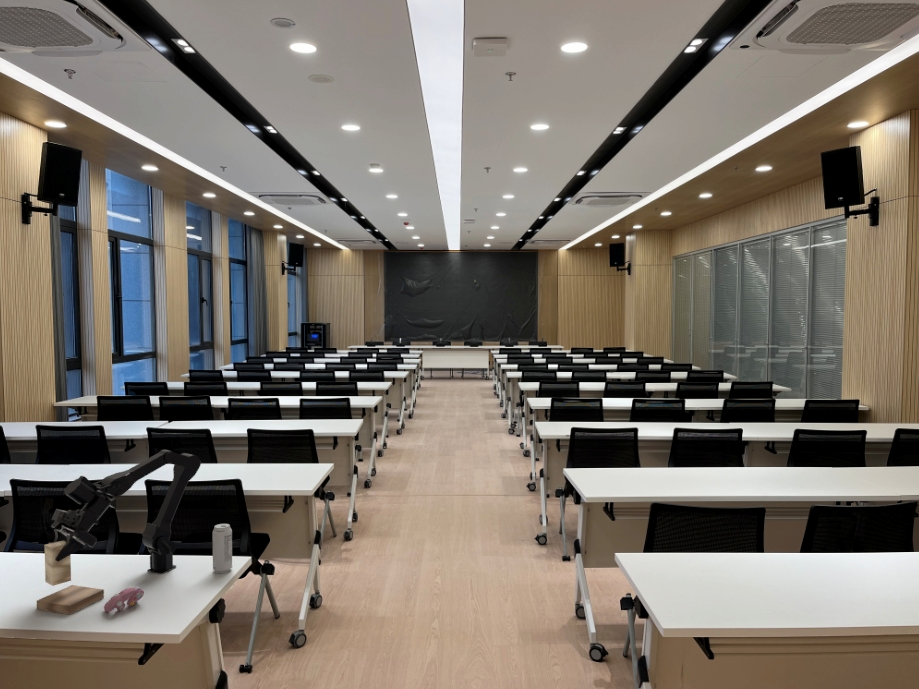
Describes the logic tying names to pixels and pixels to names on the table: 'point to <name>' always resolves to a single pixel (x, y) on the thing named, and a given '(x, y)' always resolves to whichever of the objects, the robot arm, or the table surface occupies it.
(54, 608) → the walnut base block
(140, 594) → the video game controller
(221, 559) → the energy drink can
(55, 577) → the birch block
